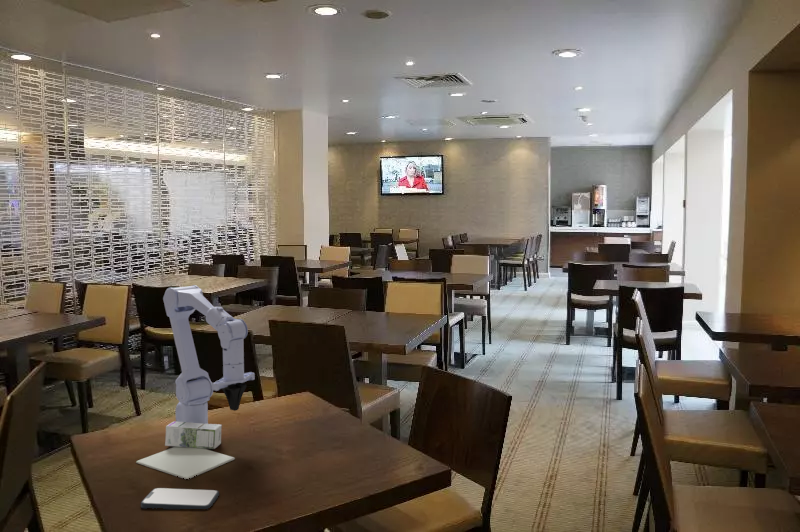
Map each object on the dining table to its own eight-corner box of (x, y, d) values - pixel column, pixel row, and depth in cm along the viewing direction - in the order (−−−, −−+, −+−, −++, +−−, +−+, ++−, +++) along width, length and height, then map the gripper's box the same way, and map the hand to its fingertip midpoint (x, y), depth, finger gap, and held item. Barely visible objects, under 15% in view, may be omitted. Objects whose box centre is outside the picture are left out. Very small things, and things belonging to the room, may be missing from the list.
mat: (136, 462, 177) (136, 461, 177) (184, 444, 191) (184, 443, 191) (187, 479, 167) (187, 477, 167) (234, 459, 180) (234, 457, 180)
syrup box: (222, 424, 192) (173, 420, 193) (215, 429, 186) (164, 426, 187) (221, 443, 192) (172, 440, 193) (214, 449, 186) (163, 446, 187)
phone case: (220, 496, 159) (154, 493, 160) (220, 489, 159) (154, 487, 159) (208, 513, 150) (138, 510, 151) (208, 506, 150) (138, 503, 151)
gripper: (223, 369, 181) (224, 418, 182) (262, 359, 193) (262, 405, 194) (206, 366, 184) (207, 414, 186) (244, 356, 196) (245, 401, 198)
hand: (234, 409), depth 190 cm, fingers closed
